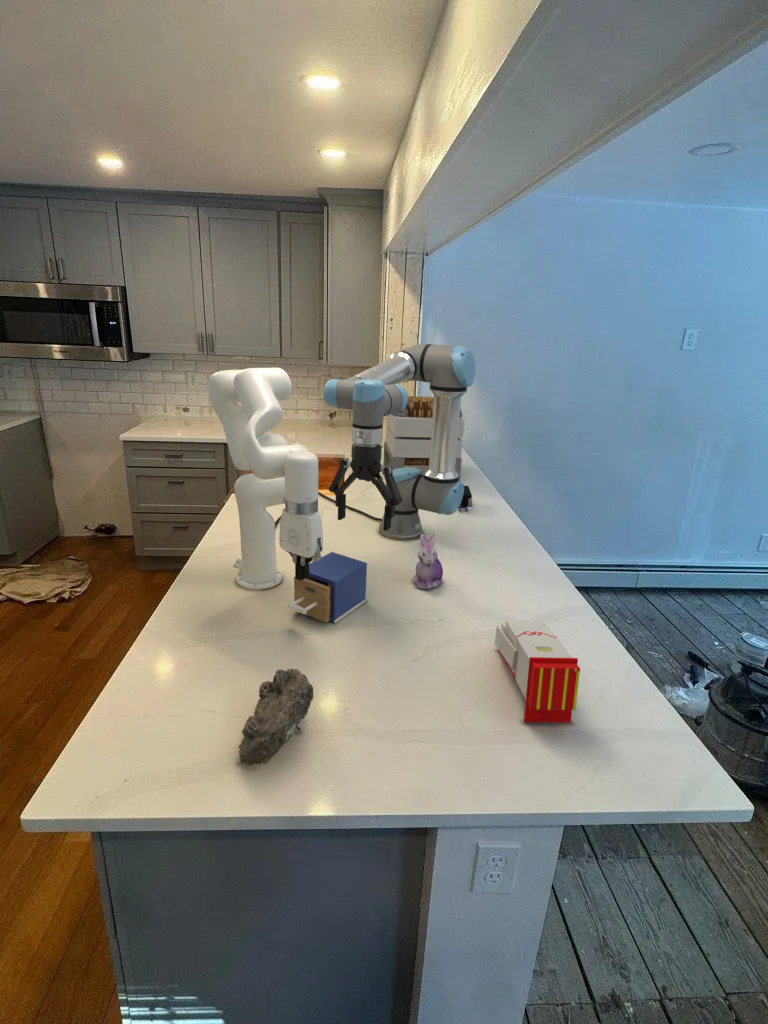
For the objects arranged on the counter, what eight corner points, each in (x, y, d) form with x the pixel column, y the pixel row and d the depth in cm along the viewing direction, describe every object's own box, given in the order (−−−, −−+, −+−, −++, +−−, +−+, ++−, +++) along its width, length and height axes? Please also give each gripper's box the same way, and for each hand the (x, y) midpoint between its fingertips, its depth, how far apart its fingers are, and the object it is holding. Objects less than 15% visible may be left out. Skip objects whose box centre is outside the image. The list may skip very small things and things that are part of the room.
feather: (290, 508, 223) (292, 504, 223) (272, 532, 197) (275, 527, 196) (286, 505, 223) (289, 501, 223) (268, 529, 197) (271, 525, 196)
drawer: (312, 632, 136) (312, 597, 132) (279, 619, 141) (278, 585, 138) (355, 603, 150) (356, 570, 147) (324, 591, 155) (324, 560, 152)
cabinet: (334, 622, 142) (335, 581, 138) (299, 608, 148) (298, 569, 144) (365, 601, 153) (367, 562, 149) (331, 589, 159) (331, 551, 155)
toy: (541, 605, 135) (589, 664, 106) (536, 657, 138) (581, 729, 108) (490, 604, 135) (524, 663, 105) (486, 656, 137) (518, 728, 108)
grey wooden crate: (382, 463, 289) (386, 382, 275) (445, 464, 293) (451, 384, 279) (390, 482, 257) (394, 392, 243) (460, 483, 261) (468, 394, 247)
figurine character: (472, 516, 224) (466, 500, 237) (474, 499, 220) (469, 483, 234) (455, 515, 224) (451, 499, 237) (457, 498, 220) (452, 483, 234)
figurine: (423, 593, 159) (426, 543, 153) (405, 577, 167) (408, 530, 162) (451, 587, 163) (455, 538, 158) (432, 572, 171) (436, 526, 166)
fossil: (254, 669, 115) (309, 637, 110) (285, 700, 118) (340, 670, 113) (215, 759, 96) (280, 724, 91) (253, 792, 99) (319, 761, 94)
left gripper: (266, 503, 131) (268, 574, 137) (316, 517, 123) (316, 592, 130) (288, 495, 137) (289, 564, 143) (337, 508, 129) (336, 580, 136)
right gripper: (316, 439, 143) (315, 518, 150) (406, 454, 132) (400, 538, 139) (332, 434, 149) (330, 510, 156) (418, 448, 139) (413, 529, 146)
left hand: (302, 577), depth 136 cm, fingers closed
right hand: (363, 523), depth 148 cm, fingers open, 13 cm apart
